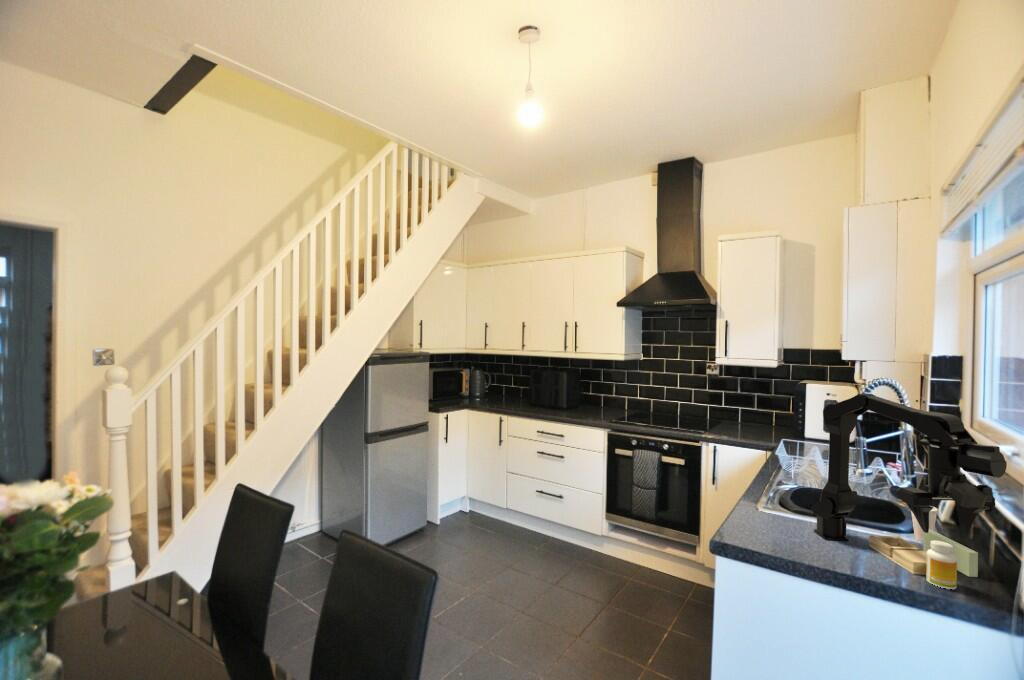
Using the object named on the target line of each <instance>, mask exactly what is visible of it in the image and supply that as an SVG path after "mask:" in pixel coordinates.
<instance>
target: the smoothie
mask: <svg viewBox="0 0 1024 680" xmlns="http://www.w3.org/2000/svg"><path fill="white" fill-rule="evenodd" d="M932 507H933V509H932V510H931V511H930V512H929V530H933V531H935V525H936V520H937V515H938V514H939V509H938V508H937V507H935V506H932ZM910 511H911V510H910ZM910 514H911V520H912V525H913V533H914V539H915V540H917V541H920V542H921V543H924V532H923V530H922V528H921V527H920V525H919V523H918V521H917V519H916V517H915V516H914V514H913V512H912V511H911V512H910Z"/></svg>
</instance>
